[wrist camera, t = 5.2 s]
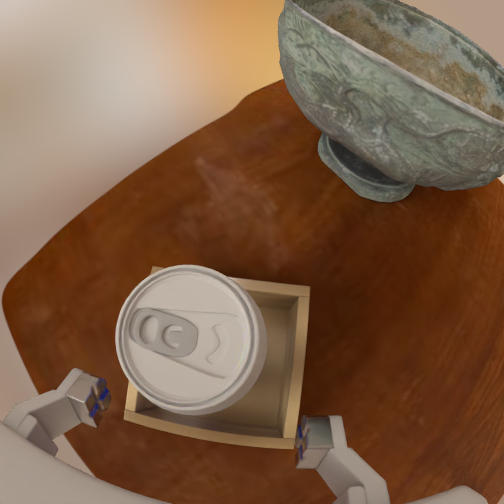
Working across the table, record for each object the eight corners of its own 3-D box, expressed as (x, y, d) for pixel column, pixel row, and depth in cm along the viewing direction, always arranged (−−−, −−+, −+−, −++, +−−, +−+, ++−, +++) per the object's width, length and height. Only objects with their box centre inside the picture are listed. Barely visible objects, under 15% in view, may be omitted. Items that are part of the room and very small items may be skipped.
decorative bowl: (381, 92, 39) (412, -4, 20) (480, 211, 30) (562, 122, 11) (236, 120, 35) (228, -21, 16) (339, 296, 26) (477, 152, 7)
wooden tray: (284, 435, 19) (293, 449, 15) (145, 412, 20) (123, 419, 15) (298, 303, 24) (310, 286, 20) (168, 286, 25) (152, 265, 20)
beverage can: (258, 337, 23) (282, 272, 9) (247, 397, 20) (253, 435, 7) (197, 325, 23) (132, 244, 9) (184, 384, 21) (92, 389, 7)
